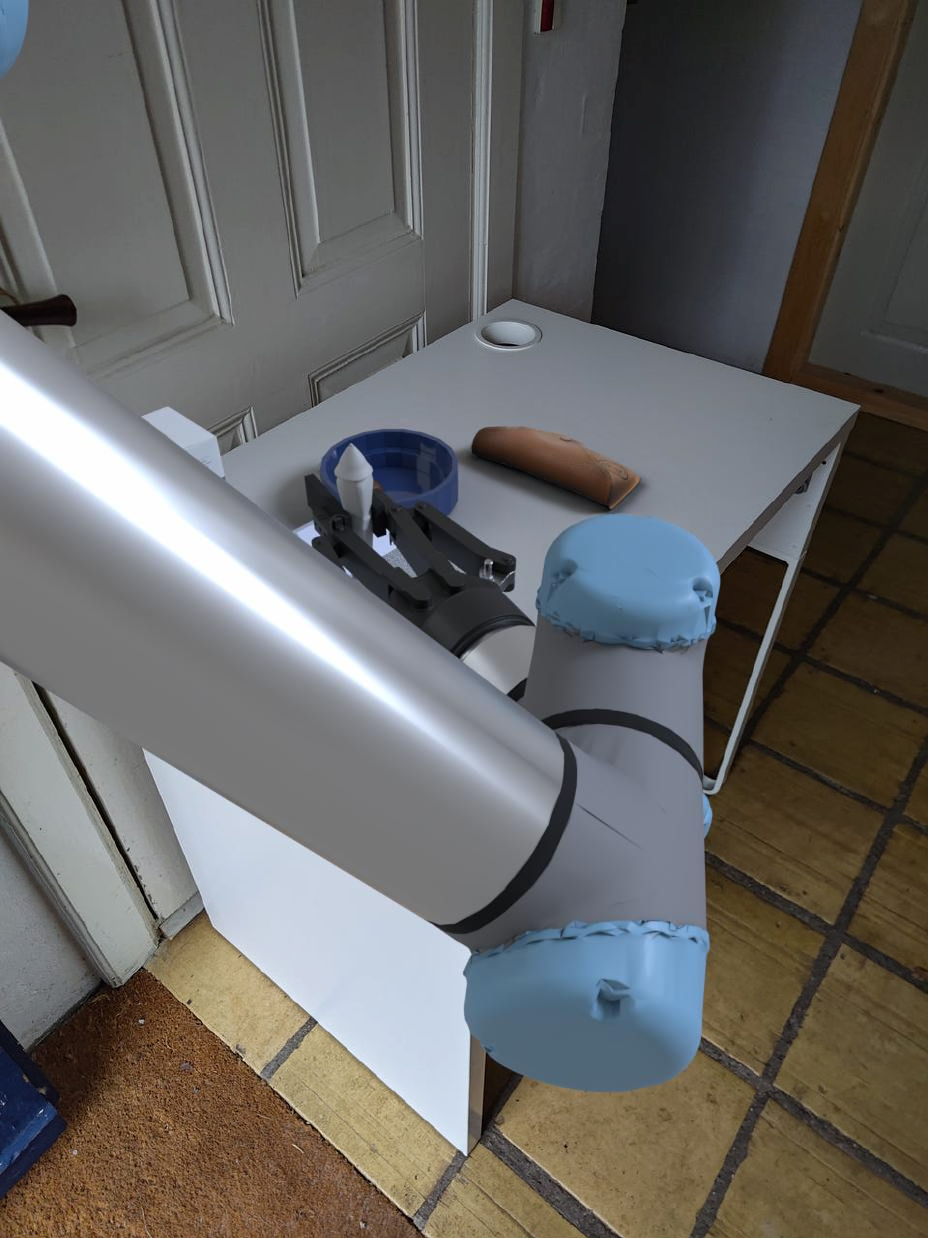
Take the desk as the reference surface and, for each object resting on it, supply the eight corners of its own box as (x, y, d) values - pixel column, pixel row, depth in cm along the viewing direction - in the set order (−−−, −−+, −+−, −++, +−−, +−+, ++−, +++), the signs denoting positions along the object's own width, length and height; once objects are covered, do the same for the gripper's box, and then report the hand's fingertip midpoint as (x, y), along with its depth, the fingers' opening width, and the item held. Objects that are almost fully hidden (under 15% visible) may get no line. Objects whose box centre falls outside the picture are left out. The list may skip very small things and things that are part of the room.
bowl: (316, 539, 87) (311, 502, 84) (332, 463, 98) (328, 428, 94) (457, 540, 87) (457, 503, 84) (458, 464, 98) (458, 428, 95)
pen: (373, 612, 67) (360, 456, 58) (342, 604, 68) (325, 448, 59) (387, 592, 69) (376, 438, 60) (356, 584, 70) (341, 431, 60)
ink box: (240, 537, 87) (218, 434, 79) (198, 559, 85) (171, 454, 77) (192, 503, 92) (167, 402, 84) (151, 523, 89) (121, 421, 81)
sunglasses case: (646, 474, 95) (639, 442, 89) (615, 527, 94) (605, 497, 88) (511, 425, 103) (496, 392, 97) (481, 473, 102) (464, 442, 96)
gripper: (386, 761, 52) (242, 553, 67) (585, 667, 58) (412, 496, 73) (380, 673, 47) (225, 470, 61) (598, 581, 53) (409, 416, 67)
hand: (326, 484), depth 67 cm, fingers closed on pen, 2 cm apart
